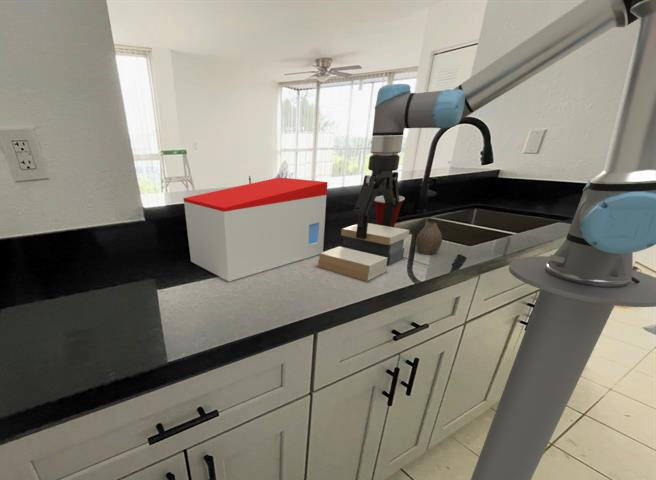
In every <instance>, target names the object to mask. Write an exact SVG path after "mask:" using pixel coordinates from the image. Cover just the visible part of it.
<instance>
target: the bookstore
mask: <svg viewBox="0 0 656 480" xmlns="http://www.w3.org/2000/svg"><path fill="white" fill-rule="evenodd" d="M327 195H328V181H322V180H320V181H319V180H310V179H302V178H301V179H300V178H289V177H279V176H278V177H275V178H271V179H266V180H265V179H264V180H261V181H257V182H251V183H247V184H241V185H238V186H233V187H229V188H223V189H219V190H215V191H210V192H205V193H201V194H200V193H199V194H195V195H191V196H187V197H183V205H184V214H185V222H186V231H187V239H188V247H189V256H190V262H191V263H193V264H195V265H197V266H198V267H200V268H202V269H204V270H206V271H208V272H210V273H212V274H214V275H215V276H218V277H219V278H221V279H223V280H225V281H227V282H231V281H236V280H238V279H242V278H244V277H248V276H251V275H254V274H258V273H261V272H265V271H268V270H271V269H274V268H279V267H281V266H285V265H288V264H292V263H295V262H298V261H302V260H305V259H308V258H312V257H315V256H318V255H319V256H320V253H322V252H324V243H325V241H324V240H325V227H326V225H325V224H326V208H327Z"/></svg>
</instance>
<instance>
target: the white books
mask: <svg viewBox="0 0 656 480" xmlns="http://www.w3.org/2000/svg"><path fill="white" fill-rule="evenodd" d="M317 262H318V263H317V267H318V268H321V269H324V270H328V271H330V272H334V273H338V274H341V275H344V276H348V277H351V278H354V279H357V280H361V281H364V282H368V281H370V280H372V279H375V278H376V277H378V276H381V275H382V274H384V273H385V272H386V269H387V266H388V265H387V257H382V256H378V255H374V254H370V253H365V252H361V251H357V250H353V249H348V248H344V247H343V246H340V245H339V246H336V247H334V248H330V249H327V250H325V251H323V252H322V253H320V254H319V258H318V261H317Z"/></svg>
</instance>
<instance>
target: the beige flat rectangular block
mask: <svg viewBox="0 0 656 480" xmlns="http://www.w3.org/2000/svg"><path fill="white" fill-rule="evenodd" d="M410 231H411V230H410V229H406V228H399V227H395V226H394V227H388V226H382V225H377V223H369V222H368V227H367V235H366V239H361V238H356V233H357V223H356V224H353V225H349V226H345V227H343V228H341V233H340V236H342V237H343V236H347V237H352V238H356V239H361V240H366V241H371V242H376V243H381V244H385V245H390V244H393V243H395V242H397V241H400V240H402V239H404V240H405V239H407V238H409V236H410Z"/></svg>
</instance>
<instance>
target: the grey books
mask: <svg viewBox="0 0 656 480" xmlns="http://www.w3.org/2000/svg"><path fill="white" fill-rule="evenodd" d="M342 237H343V238H342V247H344V248H348V249H353V250H357V251H361V252H365V253H370V254H374V255H378V256H382V257H387V265H386V266H390V265H392V264H395V263H396V262H398V261H400V260H403V258H404V254H405V253H404V252H405V248H404V242H405V239H402V240H400V241H397V242H395V243H393V244H390V245H385V244H381V243H376V242H371V241H366V240H361V239H356V238H352V237H347V236H342Z"/></svg>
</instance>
